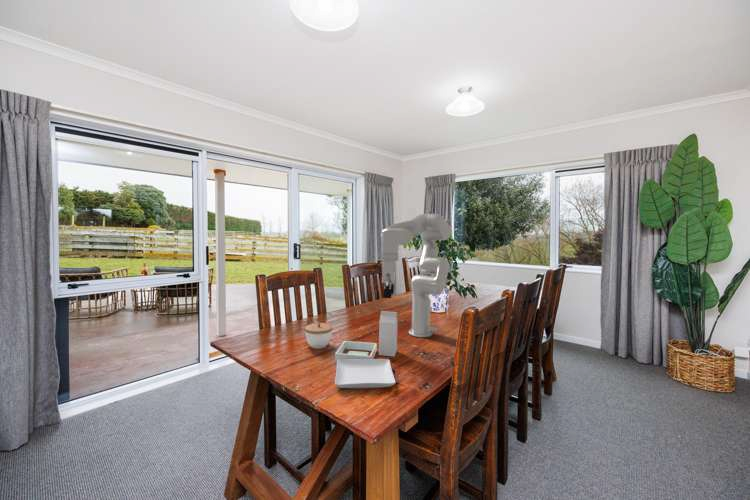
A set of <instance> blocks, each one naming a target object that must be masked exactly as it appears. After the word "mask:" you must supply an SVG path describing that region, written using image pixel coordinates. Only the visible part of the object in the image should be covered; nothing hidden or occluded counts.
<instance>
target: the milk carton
mask: <svg viewBox="0 0 750 500" xmlns="http://www.w3.org/2000/svg"><path fill="white" fill-rule="evenodd" d="M398 320H399V319H398V312H397V311H388V310H381V311H380V316H379V322H378V323H379V324H378V325H379V327H378V330H379V332H378V356H383V357H396V354H397V351H398Z"/></svg>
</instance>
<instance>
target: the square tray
mask: <svg viewBox="0 0 750 500" xmlns="http://www.w3.org/2000/svg"><path fill="white" fill-rule="evenodd" d="M377 344H378V343H376V342H365V341H364V342H362V341H354V340H353V341H352V340H351V341H350V340H344V341H343V342H342V343H341V345H340V346H339V347H338V348H337V351H335V353H334V362H335V363H337V361H338V360H341V359H375V355H376V353H377V350H378V349H377V348H378V345H377ZM345 350H353V351H365V352H368V351H369V352H371V353H370V355H367V356H366V355H354V354H347V353H344V352H345Z"/></svg>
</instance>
